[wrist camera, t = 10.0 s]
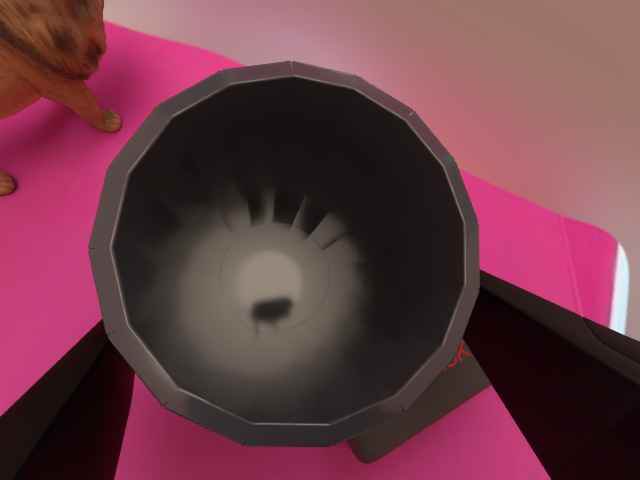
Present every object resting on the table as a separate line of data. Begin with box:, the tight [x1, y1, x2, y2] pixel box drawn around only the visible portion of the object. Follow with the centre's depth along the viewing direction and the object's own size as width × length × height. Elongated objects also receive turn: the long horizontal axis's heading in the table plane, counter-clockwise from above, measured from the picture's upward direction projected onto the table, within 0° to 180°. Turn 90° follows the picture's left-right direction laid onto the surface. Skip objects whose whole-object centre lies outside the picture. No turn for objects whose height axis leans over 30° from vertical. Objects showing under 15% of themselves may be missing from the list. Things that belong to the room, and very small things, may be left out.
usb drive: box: [347, 338, 492, 464], centre depth 17 cm, size 5×12×3 cm, turn 115°
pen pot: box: [88, 61, 480, 447], centre depth 11 cm, size 7×7×12 cm
